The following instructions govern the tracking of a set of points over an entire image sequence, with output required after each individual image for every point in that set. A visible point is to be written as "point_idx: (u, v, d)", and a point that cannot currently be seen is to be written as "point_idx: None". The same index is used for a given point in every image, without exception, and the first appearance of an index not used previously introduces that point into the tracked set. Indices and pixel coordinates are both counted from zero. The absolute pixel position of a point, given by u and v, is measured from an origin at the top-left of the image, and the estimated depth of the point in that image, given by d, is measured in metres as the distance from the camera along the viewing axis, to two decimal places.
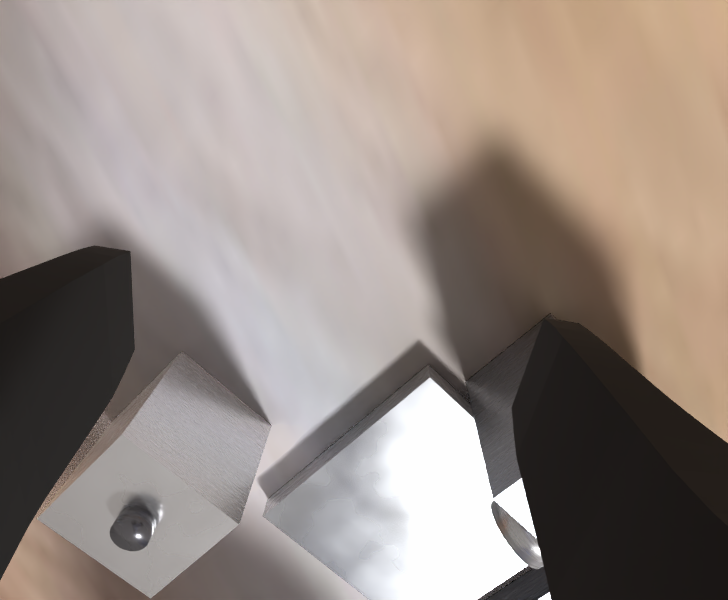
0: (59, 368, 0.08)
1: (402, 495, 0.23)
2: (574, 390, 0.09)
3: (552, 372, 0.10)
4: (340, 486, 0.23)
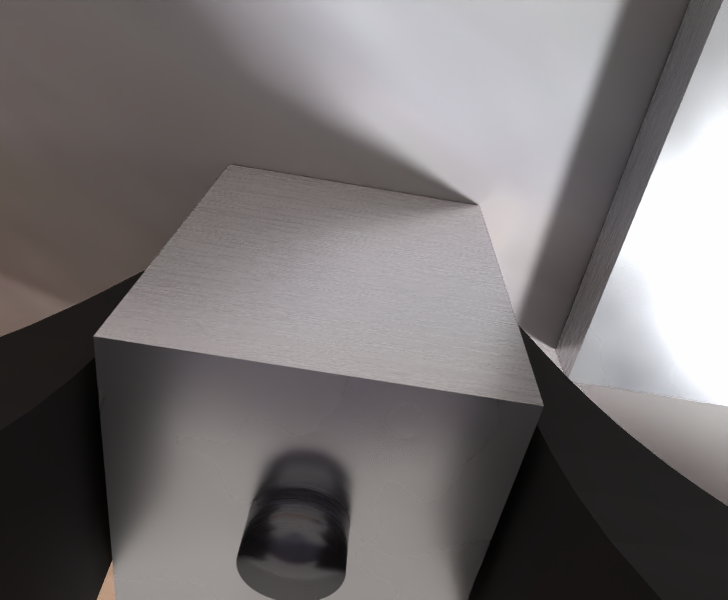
0: None
1: None
2: None
3: None
4: (699, 231, 0.10)
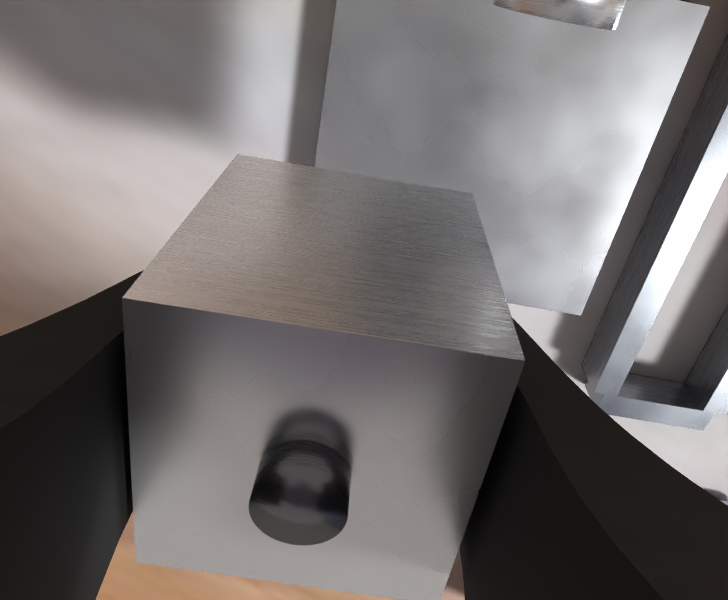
0: None
1: (431, 135, 0.17)
2: None
3: None
4: (353, 172, 0.17)
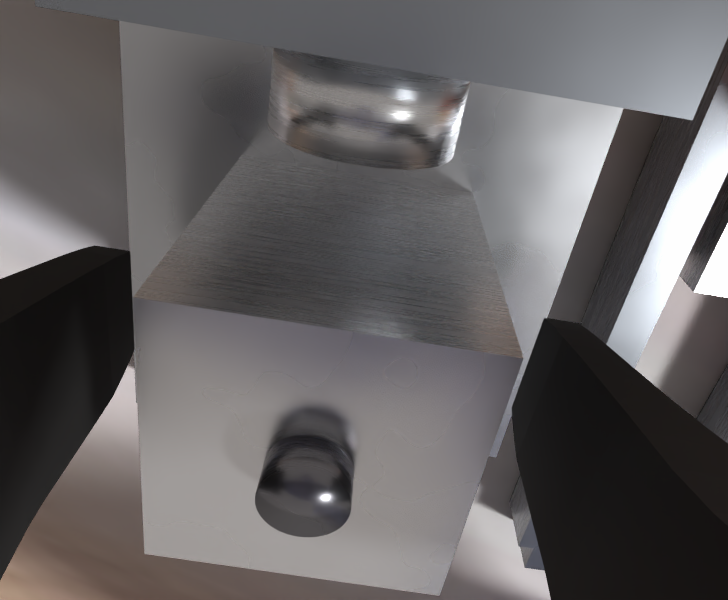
0: (60, 368, 0.08)
1: None
2: (574, 390, 0.09)
3: (552, 372, 0.10)
4: None
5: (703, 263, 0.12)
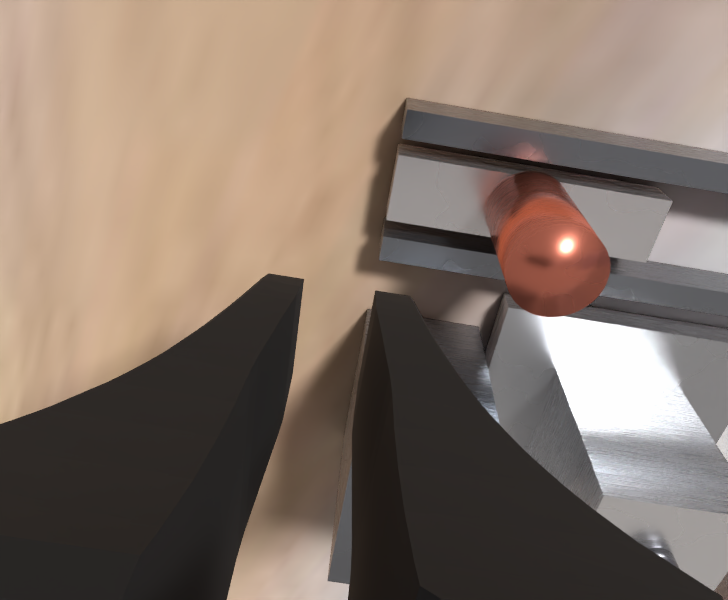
0: (267, 400, 0.08)
1: None
2: (375, 359, 0.09)
3: (370, 343, 0.09)
4: None
5: (625, 257, 0.18)
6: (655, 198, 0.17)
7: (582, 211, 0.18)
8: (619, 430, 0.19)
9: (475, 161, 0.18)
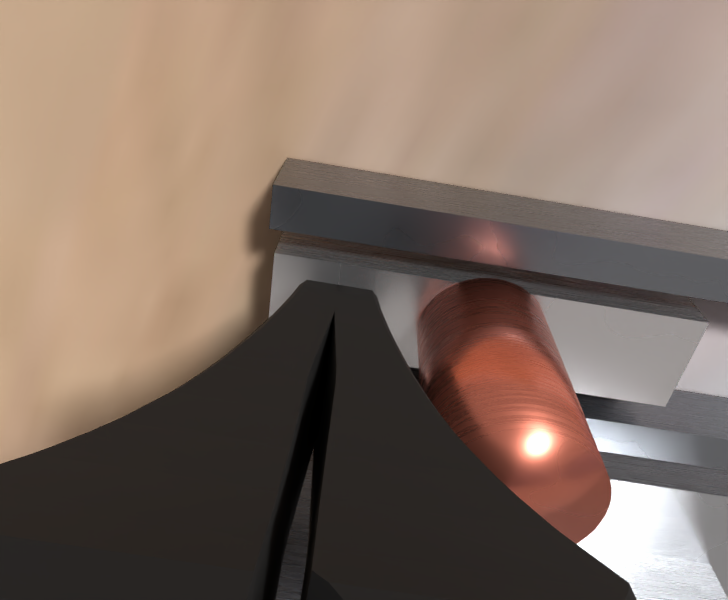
0: (313, 407, 0.08)
1: None
2: (330, 352, 0.09)
3: None
4: None
5: (634, 397, 0.12)
6: (682, 318, 0.11)
7: (567, 335, 0.11)
8: None
9: (401, 257, 0.11)
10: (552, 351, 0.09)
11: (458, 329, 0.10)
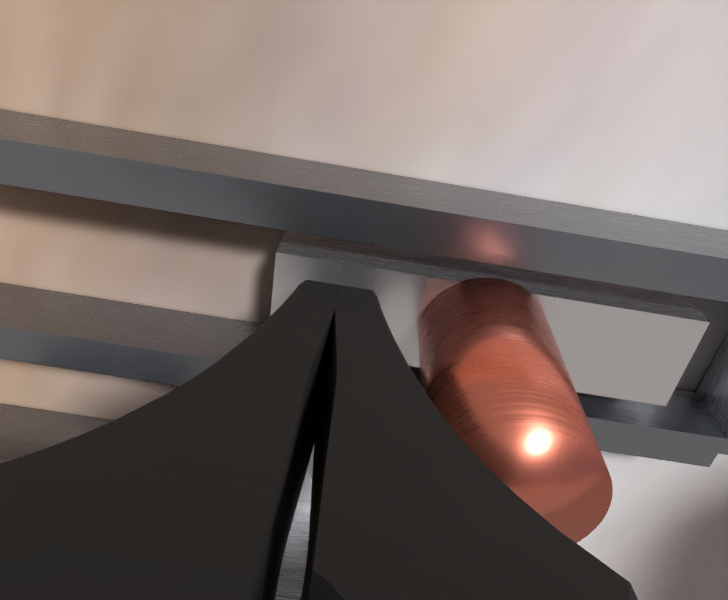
0: (312, 407, 0.08)
1: None
2: (331, 352, 0.09)
3: None
4: None
5: (634, 396, 0.12)
6: (682, 318, 0.11)
7: (568, 335, 0.11)
8: None
9: (402, 256, 0.11)
10: (553, 350, 0.09)
11: (459, 328, 0.10)
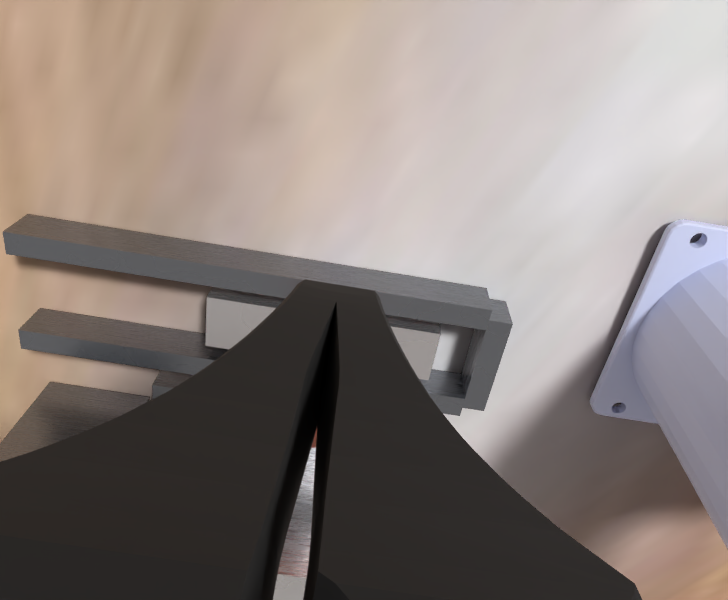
0: (310, 407, 0.08)
1: None
2: (333, 352, 0.09)
3: (332, 338, 0.09)
4: None
5: None
6: (425, 332, 0.21)
7: None
8: None
9: (277, 298, 0.21)
10: None
11: None
